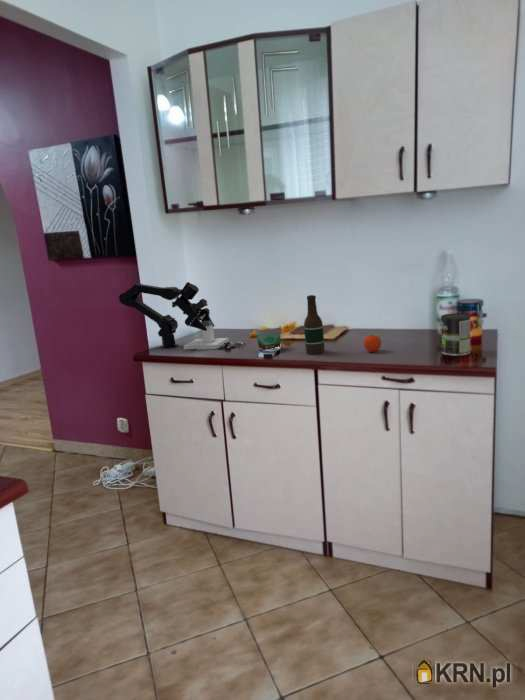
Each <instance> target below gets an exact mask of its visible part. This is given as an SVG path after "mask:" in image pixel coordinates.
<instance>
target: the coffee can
mask: <svg viewBox="0 0 525 700" xmlns="http://www.w3.org/2000/svg"><path fill="white" fill-rule="evenodd" d="M440 319H441V320H440V321H441V323H440V324H441V325H440V326H441V354H443V355H445V356H451V357H453V356H454V357H458V356H459V357H460V356H466V355H467V356H468V355H470V354H471V315H470V314H468V313H447V314H443V315H441V316H440Z"/></svg>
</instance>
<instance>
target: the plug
mask: <svg viewBox="0 0 525 700" xmlns="http://www.w3.org/2000/svg"><path fill="white" fill-rule="evenodd" d="M200 322H201V321H200ZM212 322H213V320H212V321H203V322H201V323H202V324H203V325H204V326H205V327H206V329H207V330H206V331H204V330H201V332H202V339H203V341H204V343H212V342H214V338H215V335H214V332H215V331H214V327H213V324H214V323H213V324H212Z"/></svg>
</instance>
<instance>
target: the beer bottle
mask: <svg viewBox="0 0 525 700" xmlns="http://www.w3.org/2000/svg"><path fill="white" fill-rule="evenodd" d="M306 299H307V315H306V317H305V319H304V322H303V328H304V329H303V331H304V344H305V352H306V354H307V355H310V356H311V355H313V356H314V355H321V354H323V353H325V338H324V325H323V320H322V318H321V317H320V316H319V314H318V313H319V312H318V310H317V309H318V307H317V302H316V295H314V294H313V295H311V294H310V295H306Z"/></svg>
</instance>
